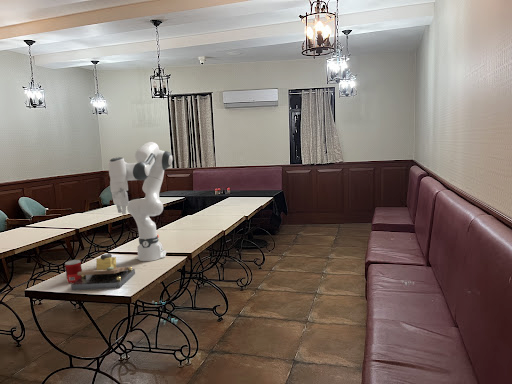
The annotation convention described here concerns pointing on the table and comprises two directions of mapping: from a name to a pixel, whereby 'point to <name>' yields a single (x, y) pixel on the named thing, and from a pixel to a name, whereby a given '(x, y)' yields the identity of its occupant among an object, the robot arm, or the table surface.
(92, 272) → the level plate
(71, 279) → the canned food
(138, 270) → the table surface
